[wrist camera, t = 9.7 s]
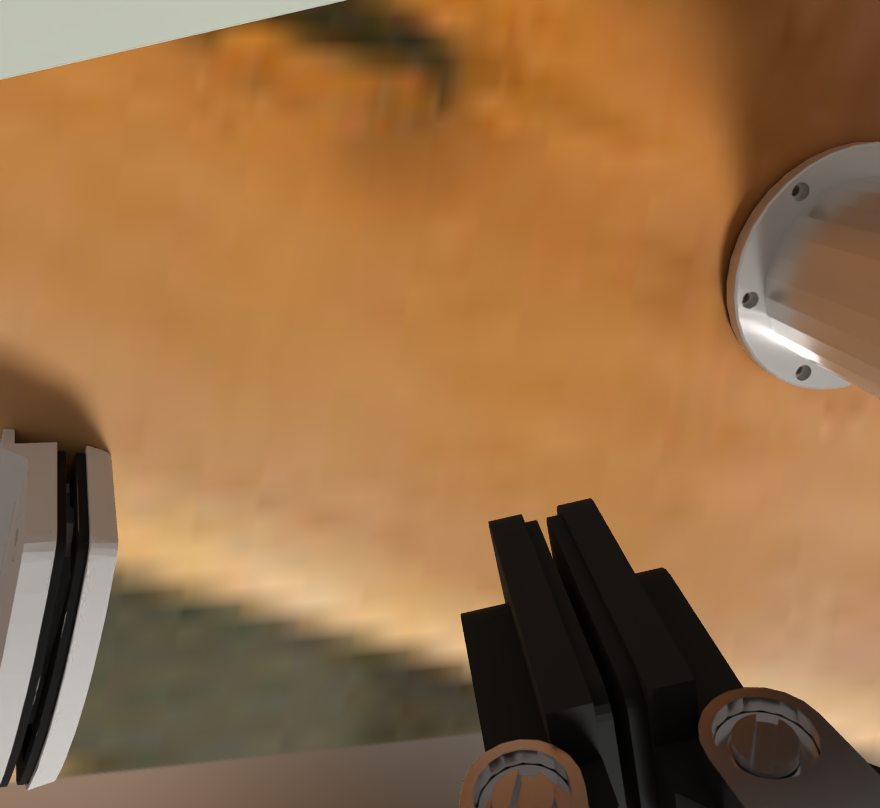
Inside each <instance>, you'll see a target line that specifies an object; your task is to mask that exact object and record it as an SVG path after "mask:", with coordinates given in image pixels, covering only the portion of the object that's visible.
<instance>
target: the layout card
mask: <svg viewBox="0 0 880 808" xmlns="http://www.w3.org/2000/svg"><path fill="white" fill-rule="evenodd" d="M341 1H345V0H0V80H2V79H6V78H10V77H15V76H19V75H23V74H28V73H32V72H36V71H41V70H45V69H50V68H54V67H58V66H63V65H67V64H71V63H76V62H80V61H84V60H89V59H93V58H97V57H102V56H106V55H110V54H115V53H119V52H123V51H128V50H132V49H136V48H141V47H145V46H149V45H154V44H158V43H163V42H167V41H171V40H176V39H180V38H184V37H189V36H193V35H197V34H202V33H206V32H210V31H215V30H219V29H223V28H228V27H232V26H236V25H241V24H245V23H249V22H254V21H258V20H262V19H267V18H271V17H276V16H280V15H284V14H289V13H293V12H297V11H302V10H306V9H310V8H315V7H319V6H323V5H328V4H332V3H336V2H341Z"/></svg>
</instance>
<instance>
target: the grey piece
mask: <svg viewBox="0 0 880 808" xmlns="http://www.w3.org/2000/svg"><path fill="white" fill-rule="evenodd" d="M117 550H118V533H117V521H116V509H115V497H114V485H113V473H112V461H111V454H109V453H107V452H105V451H103V450H101V449H97V448H94V447H91V446H86V449H85V453H76V455H75V459H74V464H73V468H72V472H71V476H70V480H69V484H66V451H57V442H48V443H17V444H15V430H12V429H3V432H2V437H1V442H0V787H7V786H8V783H9V781H10V778H11V776H12V773H13V770H14V768H15V765H16V781H17V785H23V784H25V786H26V790H29V789H32V788H35V787H38V786H41V785H44V784H47V783H51V782H54V781H55V780H56V778H57V776H58V774H59V772H60V770H61V768H62V766H63V763H64V761H65V759H66V756H67V753H68V751H69V748H70V745H71V743H72V740H73V737H74V734H75V732H76V729H77V725H78V722H79V719H80V715H81V712H82V709H83V705H84V702H85V699H86V695H87V691H88V688H89V684H90V680H91V677H92V673H93V669H94V664H95V660H96V656H97V652H98V647H99V643H100V639H101V635H102V630H103V625H104V621H105V616H106V611H107V606H108V601H109V596H110V591H111V585H112V580H113V575H114V570H115V564H116V559H117Z"/></svg>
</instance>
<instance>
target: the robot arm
mask: <svg viewBox="0 0 880 808" xmlns="http://www.w3.org/2000/svg"><path fill="white" fill-rule="evenodd" d="M793 188H794V191H793ZM792 191H793V193H792ZM744 295H745V297H744ZM743 297H744V298H743ZM727 308H728V313H729V318H730V322H731V326H732V329H733V331H734V333H735V335H736V338H737V340H738V342H739V344H740V345H741V347H742V348H743V349H744V351H745V352H746V353H747V355H748V356H749V357H750V359H751V360H753V361H754V362H755V363H756V364H757V365H759V366H760V367H761V368H762V369H764V370H765V371H766V372H768V373H770V374H771V375H773V376H775V377H777V378H778V379H780V380H782V381H784V382H786V383H789V384H792V385H794V386H798V387H803V388H811V389H819V390H821V389H835V388H843V387H847V386H851V385H855V386H857V387H859V388H860V389H862V390H864V391H866V392H868V393H870V394H872V395H874V396H875V397H877V398H879V399H880V142H854V143H850V144H846V145H842V146H838V147H834V148H831V149H828V150H826V151H824V152H822V153H820V154H817V155H815V156H813V157H811V158H809V159H807V160H806V161H804V162H803V163H801V164H800V165H798V166H797V167H795V168H794V169H792V170H791V171H789V172H788V173H787V174H786V175H785V176H783V177H782V178H781V179H780V180H779V181H778V182H777V183H776V184H775V185H774V186H773V187H772V188H771V189H770V190H769V191H768V192H767V193H766V194H765V196H764V197H763V198H762V200H761V201H760V202H759V203H758V205H757V206H756V207H755V209H754V210H753V211H752V213H751V214H750V216H749V218H748V220H747V222H746V224H745V225H744V227H743V229H742V231H741V233H740V235H739V237H738V240H737V243H736V245H735V248H734V251H733V254H732V257H731V260H730V266H729V272H728V277H727ZM547 527H548V533H549V539H550V544H551V550H552V556H553V558H552V556H551V553H550V551H549V548H548V546H547V543H546V541H545V538H544V536H543V534H542V531H541V529H540V526H539V524H538V522H537V520H534V521H530V522H525V521H524V519H523V516H522V515H521V514H520V515H515V516H511V517H507V518H502V519H498V520H493V521H489V528H490V533H491V538H492V543H493V547H494V552H495V557H496V561H497V566H498V571H499V576H500V580H501V585H502V590H503V594H504V599H505V604H501V605H497V606H493V607H488V608H484V609H480V610H475V611H471V612H467V613H462V614H461V620H462V626H463V632H464V637H465V643H466V648H467V653H468V659H469V664H470V670H471V675H472V681H473V686H474V692H475V697H476V703H477V708H478V714H479V719H480V725H481V730H482V736H483V741H484V747H485V753H484V754H483V755H482V756H481V757H480V758H479V759H478V760H477V761H476V762H475V763H474V764H472V766H471V768H470V769H469V771H468V773H467V775H466V777H465V778H464V780H463V784H462V789H461V794H460V807H459V808H880V767H877V766H875V765H872V764H869V763H868V762H867V761H866V760H865V759H864V758H863V757H862V756H861V755H860V754H859V753H858V752H857V751H856V750H855V749H854V748H853V747H852V746H851V745H850V744H849V743H848V742H847V741H846V740H845V739H844V738H843V737H842V736H841V735H840V734H839V733H838V732H837V731H836V730H835V729H834V728H833V727H832V726H831V725H830V724H829V723H828V722H827V721H826V720H825V719H824V718H823V717H822V716H821V715H820V714H819V713H818V712H817V711H816V710H814V709H813V708H812V707H811V706H809V705H808V704H807V703H805V702H804V701H802V700H800V699H798V698H796V697H794V696H792V695H790V694H787V693H785V692H781V691H777V690H773V689H769V688H758V687H744V688H743V686H742V685H741V683H740V682H739V680H738V679H737V677H736V675H735V674H734V672H733V671H732V669H731V668H730V666H729V665H728V663H727V662H726V660H725V658H724V657H723V655H722V654H721V652H720V651H719V649H718V648H717V646H716V645H715V643H714V641H713V640H712V638H711V637H710V635H709V634H708V632H707V631H706V629H705V628H704V626H703V624H702V623H701V621H700V620H699V618H698V617H697V615H696V614H695V612H694V611H693V609H692V608H691V606H690V604H689V603H688V601H687V600H686V598H685V597H684V595H683V594H682V592H681V591H680V589H679V587H678V586H677V584H676V583H675V581H674V580H673V578H672V577H671V575H670V574H669V573H668V571H667V570H666V569H664V568H658V569H653V570H649V571H645V572H640V573H636V574H635V573H634V571H633V569H632V567H631V566H630V564H629V562H628V561H627V559H626V557H625V555H624V554H623V552H622V550H621V548H620V547H619V545H618V543H617V541H616V540H615V538H614V536H613V534H612V533H611V531H610V529H609V527H608V526H607V524H606V522H605V520H604V519H603V517H602V515H601V513H600V512H599V510H598V508H597V506H596V505H595V503H594V501H593V500H592V499H591V498H589V499H585V500H581V501H576V502H572V503H568V504H563V505H559V506H557V515H556V516H552V517H547Z"/></svg>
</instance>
